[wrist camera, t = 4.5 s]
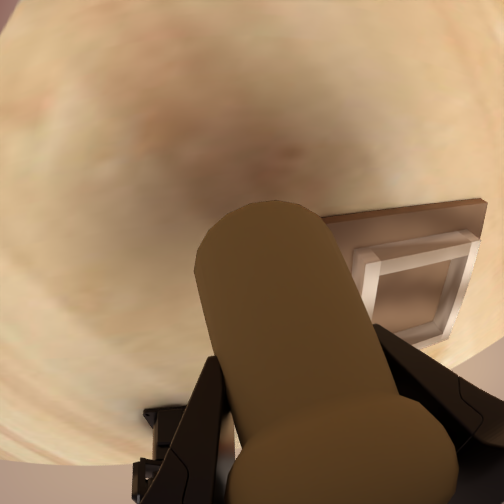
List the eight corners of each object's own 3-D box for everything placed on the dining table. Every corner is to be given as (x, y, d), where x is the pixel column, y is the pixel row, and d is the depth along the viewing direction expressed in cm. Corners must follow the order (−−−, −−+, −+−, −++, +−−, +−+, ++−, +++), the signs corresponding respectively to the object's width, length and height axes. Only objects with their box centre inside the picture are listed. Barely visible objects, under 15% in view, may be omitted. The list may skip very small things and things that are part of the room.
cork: (224, 178, 11) (321, 569, 2) (361, 227, 13) (536, 455, 4) (177, 308, 14) (183, 581, 4) (298, 333, 15) (375, 549, 6)
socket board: (443, 330, 31) (457, 347, 28) (314, 368, 30) (322, 391, 27) (480, 198, 23) (502, 212, 20) (319, 218, 22) (335, 238, 19)
